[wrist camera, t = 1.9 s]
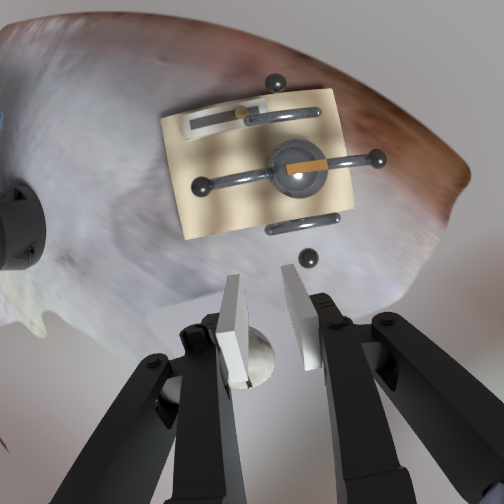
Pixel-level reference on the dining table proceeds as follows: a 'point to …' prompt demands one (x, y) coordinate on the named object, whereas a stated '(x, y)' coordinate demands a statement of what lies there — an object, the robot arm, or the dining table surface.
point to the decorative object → (257, 360)
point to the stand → (250, 161)
